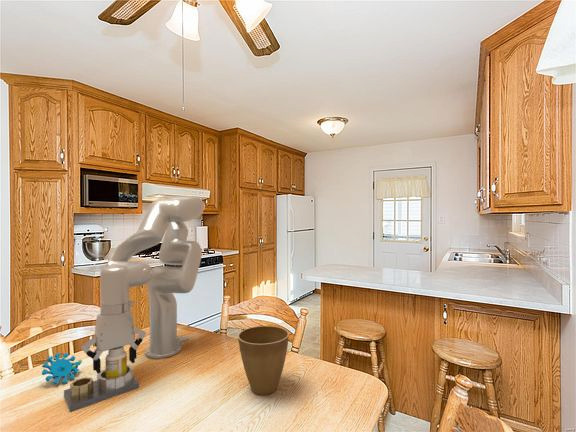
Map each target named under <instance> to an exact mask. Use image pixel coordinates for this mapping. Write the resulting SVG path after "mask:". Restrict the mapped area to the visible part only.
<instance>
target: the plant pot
mask: <svg viewBox="0 0 576 432" xmlns="http://www.w3.org/2000/svg"><path fill="white" fill-rule="evenodd" d="M289 337H290V333H289V331H288V330H287V329H285V328H283V327H279V326H275V325H259V326H251V327H249V328H248V327H247V328H246V329H243V330H241V331H240V332H239V333H238V334H237V340H238V346H239V351H240V355H241V361H242V365H243V369H244V372H245V375H246V378H247V381H248V384H249V386H250V389H251V390H252V392H253V393H255V394H256V395H259V396H266V395H271V394H272V393H275V392H276V391H277V389H278V386H279V383H280V380H281V376H282V373H283V370H284V368H285V367H284V366H285V363H286V357H287V352H288V344H289Z"/></svg>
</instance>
